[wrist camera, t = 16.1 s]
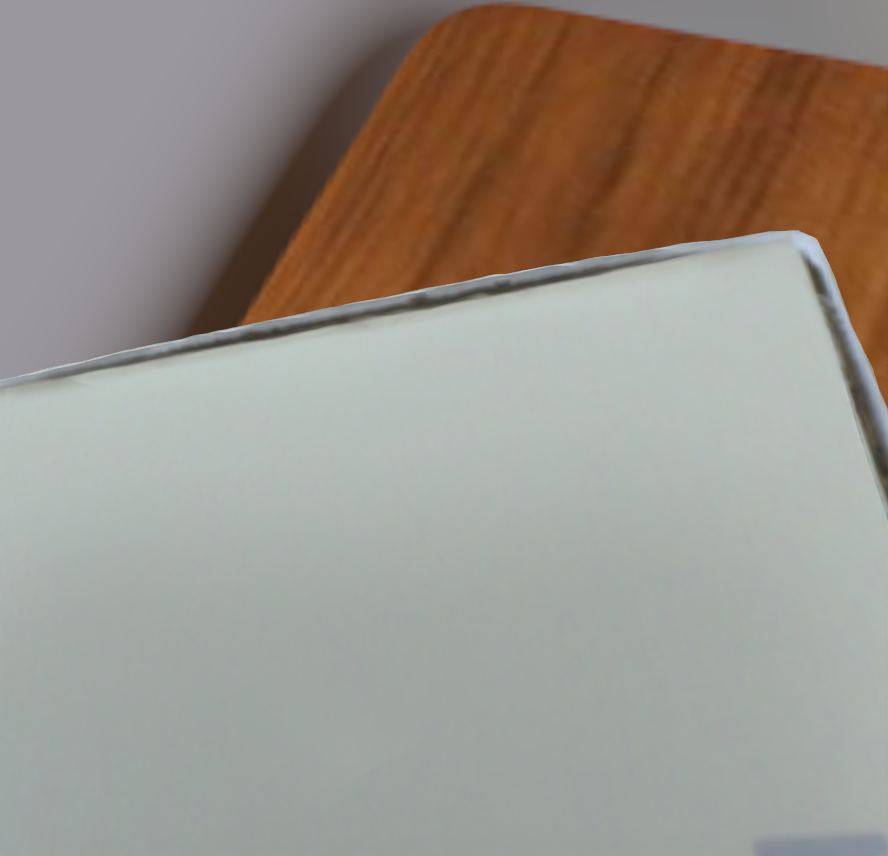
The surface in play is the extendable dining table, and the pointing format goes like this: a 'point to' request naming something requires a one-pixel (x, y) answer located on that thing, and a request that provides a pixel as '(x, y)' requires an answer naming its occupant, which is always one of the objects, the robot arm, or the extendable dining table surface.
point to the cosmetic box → (459, 575)
